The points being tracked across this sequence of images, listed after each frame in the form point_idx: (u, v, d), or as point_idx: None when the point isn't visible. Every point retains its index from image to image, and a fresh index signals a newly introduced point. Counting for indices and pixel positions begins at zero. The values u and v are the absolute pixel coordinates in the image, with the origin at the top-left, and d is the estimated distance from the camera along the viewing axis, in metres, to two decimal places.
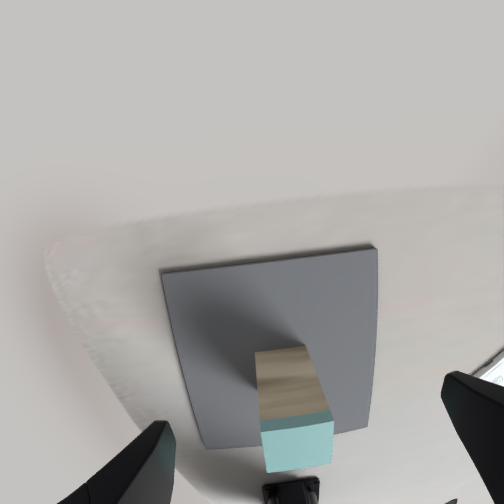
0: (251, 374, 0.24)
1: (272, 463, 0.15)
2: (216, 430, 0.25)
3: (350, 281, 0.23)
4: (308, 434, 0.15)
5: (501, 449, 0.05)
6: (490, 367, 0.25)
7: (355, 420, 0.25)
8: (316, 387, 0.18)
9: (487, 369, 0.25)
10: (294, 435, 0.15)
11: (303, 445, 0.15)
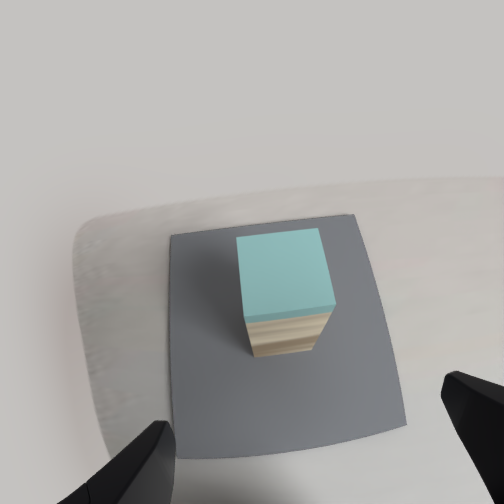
0: (244, 332, 0.22)
1: (251, 294, 0.14)
2: (195, 421, 0.19)
3: (336, 237, 0.25)
4: (291, 244, 0.15)
5: (501, 449, 0.05)
6: None
7: (386, 411, 0.18)
8: None
9: None
10: (274, 243, 0.15)
11: (288, 261, 0.14)
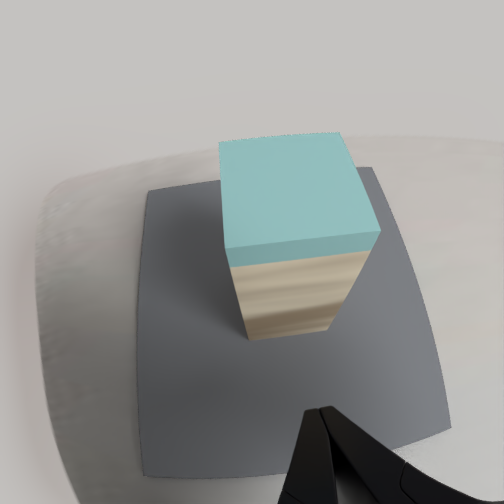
0: (236, 306, 0.16)
1: (238, 213, 0.08)
2: (168, 428, 0.13)
3: None
4: (302, 149, 0.09)
5: None
6: None
7: (427, 412, 0.13)
8: None
9: None
10: (276, 148, 0.09)
11: (299, 169, 0.09)
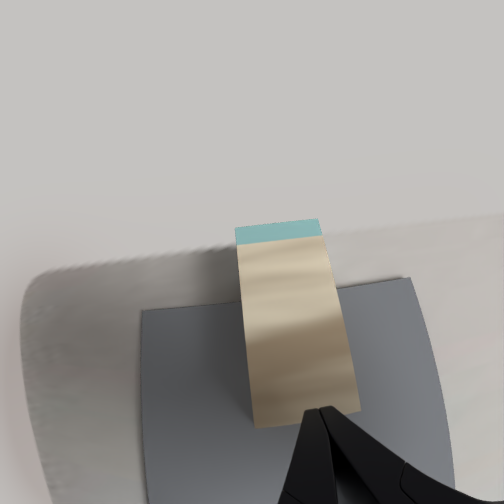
0: (253, 468, 0.12)
1: None
2: None
3: (387, 317, 0.16)
4: None
5: None
6: None
7: None
8: None
9: None
10: None
11: None
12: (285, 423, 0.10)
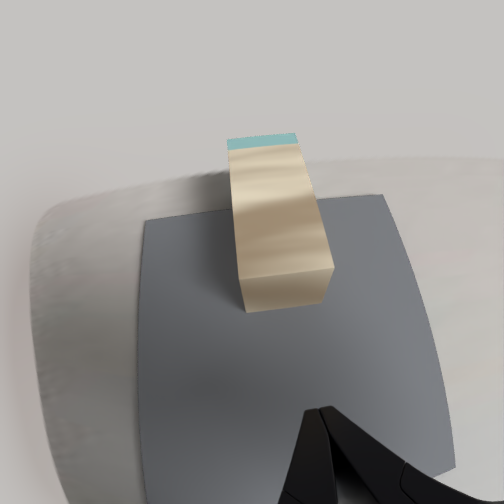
0: (240, 352, 0.15)
1: None
2: (172, 473, 0.12)
3: (362, 222, 0.19)
4: None
5: None
6: None
7: (432, 454, 0.11)
8: None
9: None
10: None
11: None
12: (266, 274, 0.13)
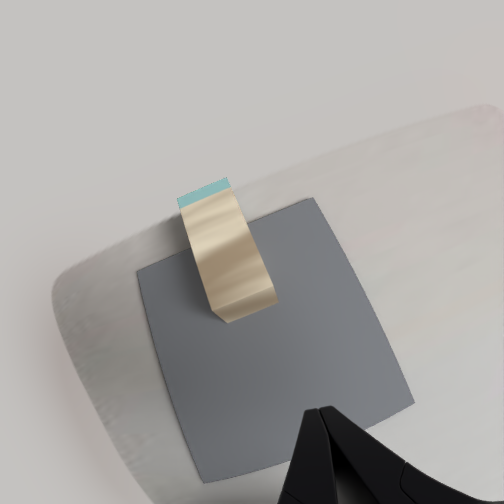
0: (231, 352, 0.21)
1: None
2: (210, 447, 0.19)
3: (299, 228, 0.24)
4: None
5: None
6: None
7: (391, 395, 0.18)
8: None
9: None
10: None
11: None
12: (228, 303, 0.19)
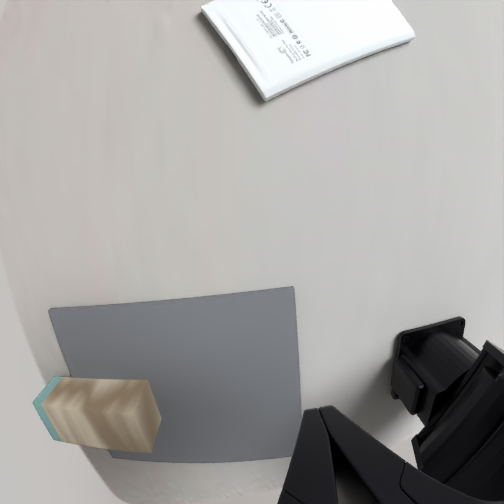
0: (188, 422, 0.22)
1: None
2: (270, 448, 0.23)
3: (78, 337, 0.20)
4: None
5: None
6: (232, 50, 0.16)
7: (273, 311, 0.20)
8: (86, 381, 0.21)
9: (237, 56, 0.16)
10: None
11: None
12: (145, 443, 0.17)
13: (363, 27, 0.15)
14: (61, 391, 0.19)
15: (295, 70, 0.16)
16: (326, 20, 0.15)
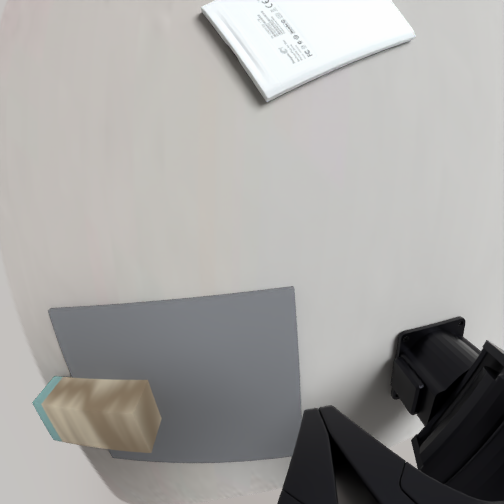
0: (188, 422, 0.22)
1: None
2: (270, 448, 0.23)
3: (78, 337, 0.20)
4: None
5: None
6: (234, 50, 0.16)
7: (273, 311, 0.20)
8: (86, 381, 0.21)
9: (238, 57, 0.16)
10: None
11: None
12: (145, 443, 0.17)
13: (364, 27, 0.15)
14: (61, 391, 0.19)
15: (296, 70, 0.16)
16: (327, 20, 0.15)
